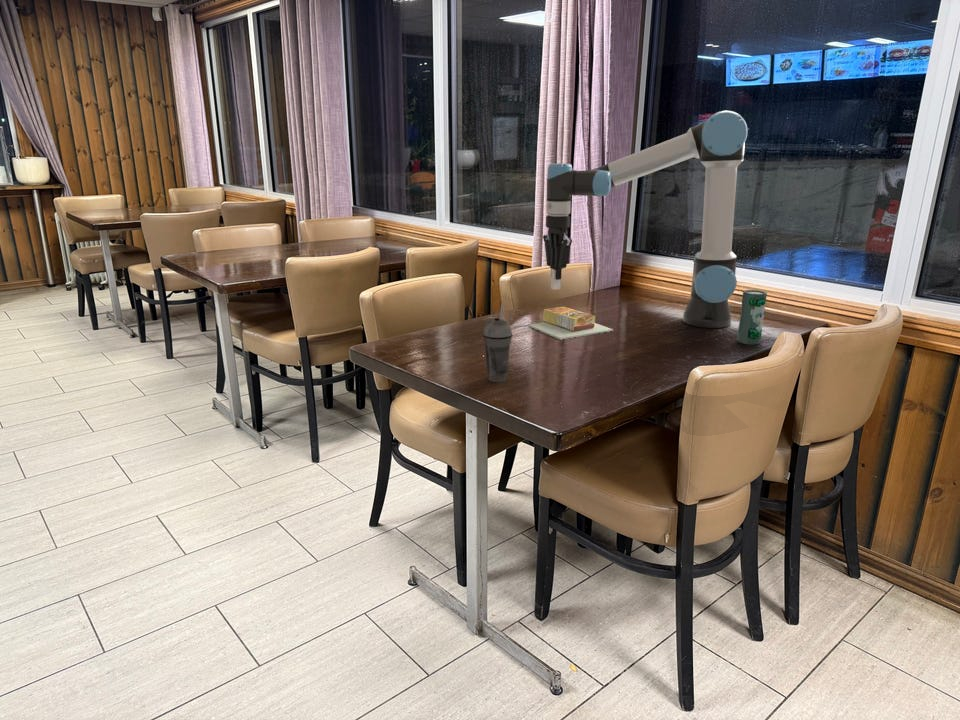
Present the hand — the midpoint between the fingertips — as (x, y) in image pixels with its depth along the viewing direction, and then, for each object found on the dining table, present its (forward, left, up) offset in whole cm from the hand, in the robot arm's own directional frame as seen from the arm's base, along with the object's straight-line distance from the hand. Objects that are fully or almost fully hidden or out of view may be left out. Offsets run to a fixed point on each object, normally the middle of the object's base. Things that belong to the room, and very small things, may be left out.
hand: (555, 288), depth 215 cm
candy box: (+2, 0, -9) cm, 9 cm away
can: (-46, -38, -12) cm, 61 cm away
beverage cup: (-38, +44, -12) cm, 59 cm away
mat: (-9, 0, -11) cm, 14 cm away
